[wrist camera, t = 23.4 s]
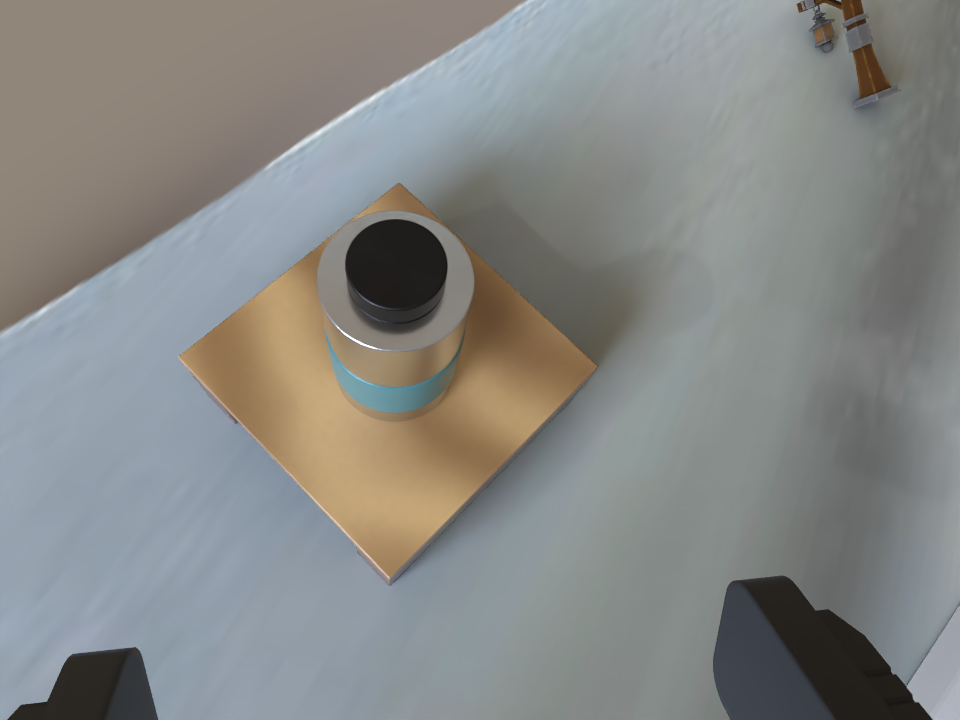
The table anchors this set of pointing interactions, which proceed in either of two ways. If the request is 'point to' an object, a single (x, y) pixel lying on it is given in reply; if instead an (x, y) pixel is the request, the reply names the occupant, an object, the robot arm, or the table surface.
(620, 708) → the table surface
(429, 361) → the silver teal canister
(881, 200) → the table surface
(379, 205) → the stand
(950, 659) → the white rounded block
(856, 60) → the lantern post
